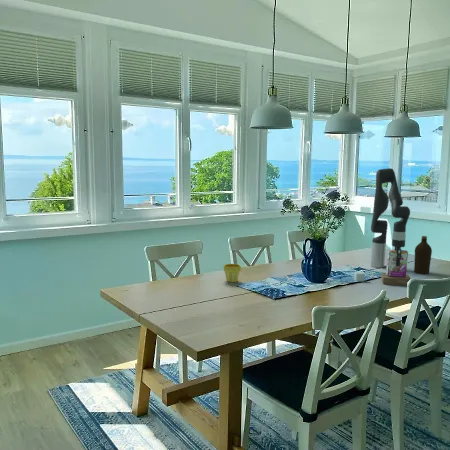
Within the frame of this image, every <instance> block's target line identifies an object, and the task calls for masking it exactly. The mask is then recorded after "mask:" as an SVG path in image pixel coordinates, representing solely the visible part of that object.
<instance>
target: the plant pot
mask: <svg viewBox="0 0 450 450" xmlns="http://www.w3.org/2000/svg"><path fill="white" fill-rule="evenodd" d="M241 270H242V266H241V264H237V263H226V264H224V265H223V272H224V274H225V278H226V281H227V282H229V283H237V282H238V280H239V275H240V272H241Z"/></svg>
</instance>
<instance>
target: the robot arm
mask: <svg viewBox="0 0 450 450" xmlns="http://www.w3.org/2000/svg"><path fill="white" fill-rule="evenodd" d="M388 183H390V184H391V185H390V186H391V187H390V189H389V191H388V194H387V192H386V191H385V190H384V189H383V184H388ZM373 201H374V202H373V211H372V218H371V225H370V230H371V233H375V234H380V235H379V236H375V237H373V238H372V240H371V241H372V242H371V243H372V244H371V256H370V257H371V260H370V267H373V268H384V267H385V261H386V248H387V247H386V246H387V233H388V224H389V223H388V221H387V220H385V219H379V218H380V216H381V215H382V214H384V213H385V212H386V210H387V209H388V208H389V202H390V207H391V216H392V217H393V218H395V219H396V218H397V219H399V220H398V221H395V222H393V230H392V231H393V232H392V235H391V236H392V238H391V239H392V240H391V246H392V247H394V249H393V250H395V251H396V252H395V257H396V266H400V260H401V252H402V250H403V249H402V248H404V247H406V231H407V230H406V229H407V223H408V220H409V218H410V215H411V209H410V207H408V206H405V205H404V206H403V203H404V201H403V198H402V195H401V193H400V190H399V186H398V181H397V177H396V172H395V170H394V169H393V168H390V167H389V168H380V169H378V170H377V171H376V174H375V192H374V200H373ZM396 253H397V255H396ZM398 257H399V258H398Z"/></svg>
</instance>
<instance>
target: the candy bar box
mask: <svg viewBox="0 0 450 450" xmlns="http://www.w3.org/2000/svg"><path fill="white" fill-rule="evenodd" d="M401 250H402V252H401V260H400V266H396V257H395V252H396V251H395V250H394V249H393V248H392V249H390V248H388V250H387V258H386V259H387V260H386V271H385V273H386V275H387V276H391V277H406V274H407V268H408V267H407V266H408V258H409V257H408V256H409V255H408V254H409V251H408V250H407V249H401ZM396 255H397V253H396ZM398 258H399V257H398Z"/></svg>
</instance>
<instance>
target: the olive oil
mask: <svg viewBox="0 0 450 450" xmlns="http://www.w3.org/2000/svg"><path fill="white" fill-rule="evenodd" d="M432 253H433V250H432V247H431V245H430V244H429V243H428V236H426V235H422V236H421V240H420V242H419V243H418V244H416V246H415V247H414V265H413V267H414V268H413V272H414V273H415V274H419V275H429V274H430V267H431V260H432V255H433V254H432Z"/></svg>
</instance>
